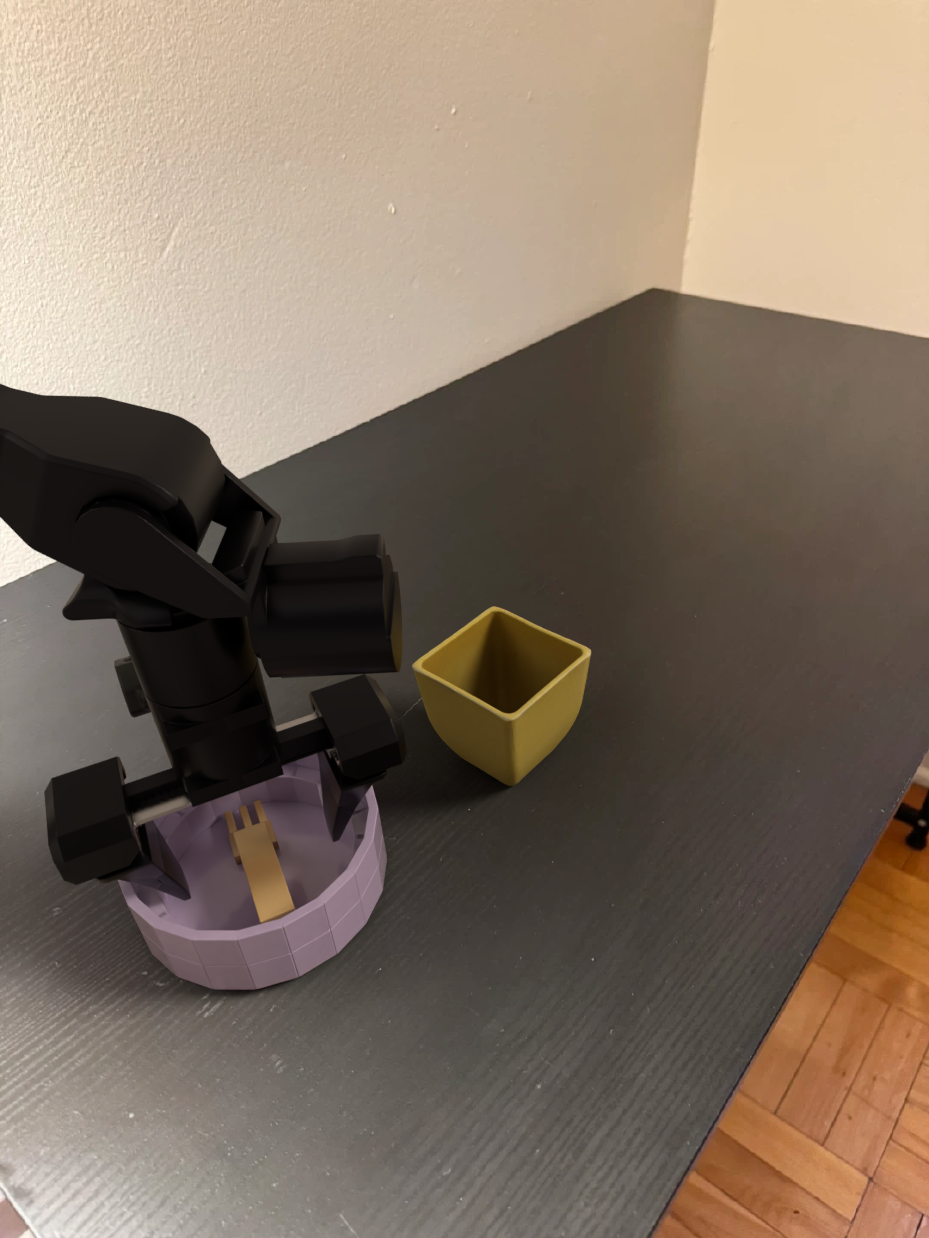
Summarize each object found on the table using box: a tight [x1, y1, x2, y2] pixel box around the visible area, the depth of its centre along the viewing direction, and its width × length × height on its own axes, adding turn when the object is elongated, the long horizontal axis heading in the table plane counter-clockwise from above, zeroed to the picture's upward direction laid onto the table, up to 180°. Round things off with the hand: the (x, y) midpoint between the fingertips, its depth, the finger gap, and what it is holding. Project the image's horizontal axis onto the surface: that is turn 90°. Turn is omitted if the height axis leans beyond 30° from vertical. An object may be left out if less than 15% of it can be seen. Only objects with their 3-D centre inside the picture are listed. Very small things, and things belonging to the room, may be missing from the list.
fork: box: [224, 800, 295, 924], centre depth 52 cm, size 11×3×3 cm, turn 25°
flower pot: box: [411, 605, 592, 787], centre depth 58 cm, size 9×9×9 cm
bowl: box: [117, 753, 388, 991], centre depth 52 cm, size 15×15×6 cm
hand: (262, 864), depth 52 cm, fingers open, 9 cm apart
